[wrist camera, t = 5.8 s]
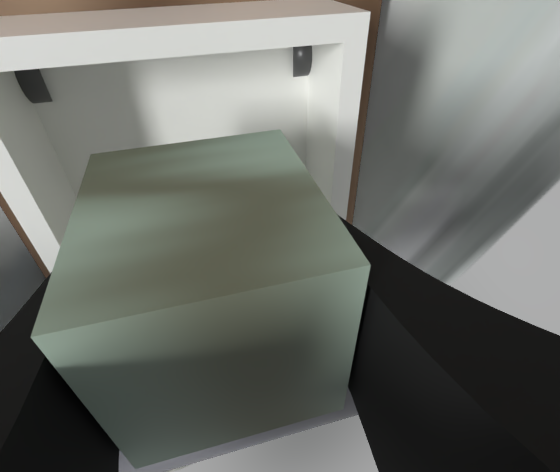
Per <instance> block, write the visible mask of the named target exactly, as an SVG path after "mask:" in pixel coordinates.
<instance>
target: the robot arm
mask: <svg viewBox="0 0 560 472" xmlns="http://www.w3.org/2000/svg"><path fill="white" fill-rule="evenodd" d="M337 215H338V214H337ZM338 217H339V218H340V220H341V221H342V223H343V224H344V226H345V227H346V229H347V230H348V232H349V233H350V235H351V236H352V238H353V239H354V241H355V242H356V244H357V245H358V246H359V248H360V249H361V251H362V252H363V254H364V255H365V257H366V258H367V260H368V261H369V263H370V264H371V266H370V272H369V277H368V282H367V287H366V293H365V298H364V303H363V309H362V314H361V319H360V324H359V330H358V335H357V340H356V345H355V351H354V356H353V361H352V367H351V372H350V377H349V382H348V388H349V391H350V393H351V395H352V398H353V401H354V404H355V406H356V409H357V412H358V415H359V417H360V420H361V423H362V425H363V428H364V431H365V434H366V437H367V439H368V442H369V445H370V448H371V451H372V454H373V457H374V460H375V462H376V465H377V468H378V471H379V472H560V336H559V335H557V334H554V333H552V332H549V331H547V330H544V329H542V328H539V327H536V326H534V325H532V324H530V323H527V322H525V321H523V320H521V319H518V318H516V317H514V316H511V315H509V314H507V313H504V312H502V311H500V310H497V309H495V308H493V307H491V306H489V305H487V304H485V303H483V302H480V301H478V300H476V299H474V298H472V297H470V296H468V295H466V294H464V293H462V292H461V291H459V290H457V289H454V288H453V287H451V286H449V285H447V284H445V283H443V282H441V281H439V280H438V279H436V278H434V277H432V276H430V275H429V274H427V273H425V272H423V271H422V270H420V269H418V268H417V267H415V266H413V265H412V264H410V263H408V262H407V261H405V260H403V259H402V258H400V257H399V256H397V255H395V254H394V253H392V252H391V251H389V250H388V249H386V248H385V247H383V246H382V245H380V244H379V243H377V242H376V241H374V240H373V239H371V238H370V237H368V236H367V235H365V234H364V233H363V232H361V231H360V230H358V229H357V228H356V227H354V226H353V225H351V224H350V223H349V222H347V221H346V220H344V219H343V218H342V217H340V216H339V215H338ZM51 273H52V272H51ZM51 273H50V275H49V276H48V277H47V278H46V280H45V281H44V282H43V283H42V284H41V286H40V287H39V288H38V289H37V290H36V292H35V293H34V294H33V295H32V296H31V298H30V299H29V300H28V301H27V302H26V304H25V305H24V306H23V307H22V308H21V310H20V311H19V312H18V313H17V314H16V316H15V317H14V318H13V319H12V320H11V321H10V322H9V324H8V325H7V326H6V327H5V328H4V329H3V330H2V331H1V332H0V472H119V450H120V449H119V448H118V447H117V446H116V444H115V443H114V442H113V441H112V439H111V438H110V437H109V436H108V434H107V433H106V432H105V431H104V429H103V428H102V427H101V426H100V424H99V423H98V422H97V421H96V419H95V418H94V417H93V415H92V414H91V413H90V412H89V410H88V409H87V408H86V407H85V405H84V404H83V403H82V402H81V400H80V399H79V398H78V397H77V395H76V394H75V393H74V392H73V390H72V389H71V388H70V386H69V385H68V384H67V383H66V381H65V380H64V379H63V378H62V376H61V375H60V374H59V373H58V371H57V370H56V369H55V368H54V366H53V365H52V364H51V363H50V361H49V360H48V359H47V357H46V356H45V355H44V354H43V352H42V351H41V350H40V349H39V347H38V346H37V345H36V344H35V342H34V341H33V340H32V339H31V334H32V331H33V328H34V325H35V322H36V319H37V316H38V313H39V310H40V307H41V304H42V301H43V298H44V295H45V292H46V289H47V286H48V283H49V279H50V276H51Z"/></svg>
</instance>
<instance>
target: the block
mask: <svg viewBox="0 0 560 472" xmlns="http://www.w3.org/2000/svg"><path fill="white" fill-rule="evenodd" d="M370 266H371V264H370V263H369V261H368V260H367V258H366V257H365V255H364V254H363V252H362V251H361V249H360V248H359V246H358V245H357V244H356V242H355V241H354V239H353V238H352V236H351V235H350V233H349V232H348V230H347V229H346V227H345V226H344V224H343V223H342V221H341V220H340V218H339V217H338V215H337V214H336V212H335V211H334V209H333V208H332V206H331V205H330V203H329V202H328V200H327V199H326V197H325V196H324V194H323V193H322V191H321V190H320V188H319V187H318V185H317V184H316V182H315V181H314V179H313V178H312V176H311V175H310V173H309V172H308V170H307V169H306V167H305V166H304V164H303V163H302V161H301V160H300V158H299V157H298V155H297V154H296V152H295V151H294V149H293V148H292V146H291V145H290V143H289V142H288V140H287V139H286V137H285V136H284V134H283V133H282V131H281V130H280V129H279V130H271V131H263V132H256V133H248V134H241V135H233V136H225V137H218V138H210V139H202V140H195V141H187V142H179V143H172V144H164V145H156V146H149V147H141V148H134V149H126V150H118V151H111V152H103V153H95V154H91V155H90V158H89V161H88V164H87V167H86V170H85V173H84V176H83V179H82V182H81V185H80V188H79V191H78V195H77V198H76V201H75V204H74V207H73V210H72V213H71V216H70V219H69V222H68V225H67V228H66V231H65V234H64V237H63V240H62V243H61V246H60V249H59V252H58V255H57V258H56V261H55V264H54V267H53V270H52V273H51V276H50V279H49V283H48V286H47V289H46V292H45V295H44V298H43V301H42V304H41V307H40V310H39V313H38V316H37V319H36V322H35V325H34V328H33V331H32V334H31V339H32V340H33V341H34V342H35V344H36V345H37V346H38V347H39V349H40V350H41V351H42V352H43V354H44V355H45V356H46V357H47V359H48V360H49V361H50V363H51V364H52V365H53V366H54V368H55V369H56V370H57V371H58V373H59V374H60V375H61V376H62V378H63V379H64V380H65V381H66V383H67V384H68V385H69V386H70V388H71V389H72V390H73V392H74V393H75V394H76V395H77V397H78V398H79V399H80V400H81V402H82V403H83V404H84V405H85V407H86V408H87V409H88V410H89V412H90V413H91V414H92V415H93V417H94V418H95V419H96V421H97V422H98V423H99V424H100V426H101V427H102V428H103V429H104V431H105V432H106V433H107V434H108V436H109V437H110V438H111V439H112V441H113V442H114V443H115V444H116V446H117V447H118V448H119V449H120V451H121V452H122V453H123V455H124V456H125V457H126V458H127V460H128V461H129V462H130V463H131V465H132V466H133V467H134V468H135V469H138V468H141V467H145V466H148V465H152V464H155V463H159V462H162V461H166V460H169V459H173V458H176V457H179V456H183V455H186V454H190V453H193V452H197V451H200V450H204V449H207V448H211V447H214V446H218V445H221V444H224V443H228V442H231V441H235V440H238V439H242V438H245V437H249V436H252V435H256V434H259V433H263V432H266V431H270V430H273V429H276V428H280V427H283V426H287V425H290V424H294V423H297V422H301V421H304V420H308V419H311V418H315V417H318V416H322V415H325V414H328V413H332V412H335V411H339V410H342V409H344V404H345V398H346V393H347V388H348V382H349V377H350V372H351V367H352V361H353V356H354V351H355V345H356V340H357V335H358V330H359V324H360V319H361V314H362V309H363V303H364V298H365V293H366V287H367V282H368V277H369V272H370Z"/></svg>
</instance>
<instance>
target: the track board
mask: <svg viewBox="0 0 560 472" xmlns="http://www.w3.org/2000/svg"><path fill="white" fill-rule="evenodd" d="M249 1H266V0H0V16H13V15H30V14H47V13H64V12H81V11H97V10H114V9H131V8H148V7H165V6H182V5H198V4H215V3H232V2H249ZM334 1H337V2H341V3H344V4H347V5H351V6H354V7H357V8H361V9H364V10H367V11H370V12H371V13H370V22H369V30H368V39H367V47H366V56H365V64H364V72H363V81H362V89H361V98H360V106H359V115H358V123H357V132H356V140H355V149H354V157H353V165H352V174H351V182H350V191H349V199H348V208H347V216H346V221H347V222H349V223H350V224H351V225H352V222H353V214H354V207H355V199H356V192H357V184H358V176H359V169H360V161H361V154H362V146H363V139H364V131H365V124H366V116H367V109H368V101H369V94H370V86H371V79H372V71H373V64H374V56H375V49H376V41H377V34H378V26H379V19H380V11H381V4H382V0H334ZM0 206H1V208H2V209H3V211H4V213H5V214H6V216H7V217H8V219H9V220H10V222H11V224H12V225H13V227H14V228H15V230H16V232H17V233H18V235H19V236H20V238H21V240H22V241H23V243H24V244H25V246H26V247H27V249H28V251H29V252H30V254H31V255H32V257H33V259H34V260H35V262H36V263H37V265H38V267H39V268H40V270H41V271H42V273H43V274H44V276H45V278H47V277H48V276H49V275H50V272H49V271H48V269H47V267H46V266H45V264H44V262H43V261H42V259H41V257H40V256H39V254H38V253H37V251H36V249H35V248H34V246H33V244H32V243H31V241H30V239H29V238H28V236H27V235H26V233H25V231H24V230H23V228H22V226H21V225H20V223H19V221H18V220H17V218H16V217H15V215H14V213H13V212H12V210H11V208H10V207H9V205H8V203H7V202H6V200H5V199H4V197H3V195H2V194H1V192H0Z"/></svg>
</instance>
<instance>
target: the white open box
mask: <svg viewBox="0 0 560 472" xmlns="http://www.w3.org/2000/svg"><path fill="white" fill-rule="evenodd" d="M370 13H371V12H370V11H367V10H364V9H361V8H357V7H354V6H351V5H347V4H344V3H341V2H337V1H334V0H266V1H249V2H232V3H215V4H198V5H182V6H165V7H148V8H131V9H114V10H97V11H81V12H64V13H47V14H30V15H13V16H0V192H1V194H2V195H3V197H4V199H5V200H6V202H7V203H8V205H9V207H10V208H11V210H12V212H13V213H14V215H15V217H16V218H17V220H18V221H19V223H20V225H21V226H22V228H23V230H24V231H25V233H26V235H27V236H28V238H29V239H30V241H31V243H32V244H33V246H34V248H35V249H36V251H37V253H38V254H39V256H40V257H41V259H42V261H43V262H44V264H45V266H46V267H47V269H48V271H49V272H50V273H51V272H52V270H53V267H54V264H55V261H56V258H57V255H58V252H59V249H60V246H61V243H62V240H63V237H64V234H65V231H66V228H67V225H68V222H69V219H70V216H71V213H72V210H73V207H74V204H75V201H76V198H77V195H78V191H79V188H80V185H81V182H82V179H83V176H84V173H85V170H86V167H87V164H88V161H89V158H90V155H91V154H95V153H103V152H111V151H118V150H126V149H134V148H141V147H149V146H156V145H164V144H172V143H179V142H187V141H195V140H202V139H210V138H218V137H225V136H233V135H241V134H248V133H256V132H263V131H271V130H279V129H280V130H281V131H282V133H283V134H284V136H285V137H286V139H287V140H288V142H289V143H290V145H291V146H292V148H293V149H294V151H295V152H296V154H297V155H298V157H299V158H300V160H301V161H302V163H303V164H304V166H305V167H306V169H307V170H308V172H309V173H310V175H311V176H312V178H313V179H314V181H315V182H316V184H317V185H318V187H319V188H320V190H321V191H322V193H323V194H324V196H325V197H326V199H327V200H328V202H329V203H330V205H331V206H332V208H333V209H334V211H335V212H336V214H338V215H339V216H340V217H342V218H343V219H344V220H346V216H347V208H348V199H349V191H350V182H351V174H352V165H353V157H354V149H355V140H356V132H357V123H358V115H359V106H360V98H361V89H362V81H363V72H364V64H365V56H366V47H367V39H368V30H369V22H370ZM355 415H358V412H357V409H356V406H355V404H354V401H353V398H352V395H351V393H350V391H349V388H347V393H346V398H345V404H344V409H342V410H339V411H335V412H332V413H328V414H325V415H322V416H318V417H315V418H311V419H308V420H304V421H301V422H297V423H294V424H290V425H287V426H283V427H280V428H276V429H273V430H270V431H266V432H263V433H259V434H256V435H252V436H249V437H245V438H242V439H238V440H235V441H231V442H228V443H224V444H221V445H218V446H214V447H211V448H207V449H204V450H200V451H197V452H193V453H190V454H186V455H183V456H179V457H176V458H173V459H169V460H166V461H162V462H159V463H155V464H152V465H148V466H145V467H141V468H138V469H135V468H134V467H133V466H132V465H131V463H130V462H129V461H128V460H127V458H126V457H125V456H124V455H123V453H122V452H121V451H120V450H119V472H166V471H169V470H172V469H176V468H179V467H183V466H186V465H189V464H193V463H196V462H200V461H203V460H206V459H210V458H213V457H216V456H220V455H223V454H227V453H230V452H233V451H237V450H240V449H244V448H247V447H250V446H253V445H257V444H261V443H264V442H267V441H271V440H274V439H278V438H281V437H284V436H288V435H291V434H294V433H298V432H301V431H305V430H308V429H311V428H314V427H318V426H321V425H325V424H328V423H332V422H335V421H339V420H342V419H345V418H348V417H352V416H355Z"/></svg>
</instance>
